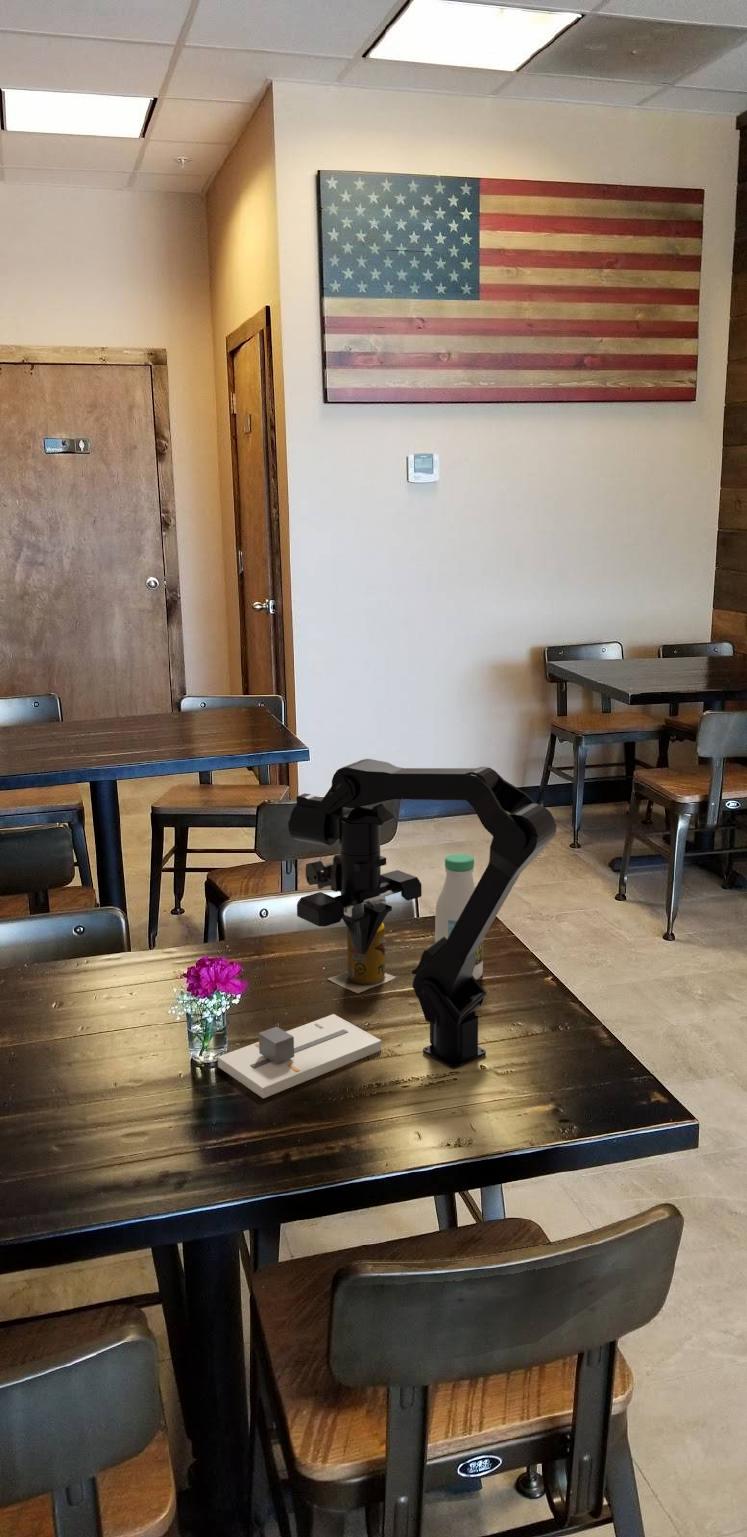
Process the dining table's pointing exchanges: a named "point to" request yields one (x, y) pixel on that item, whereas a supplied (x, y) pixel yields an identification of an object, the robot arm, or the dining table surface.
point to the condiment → (365, 965)
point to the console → (301, 1056)
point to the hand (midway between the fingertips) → (361, 953)
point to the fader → (276, 1045)
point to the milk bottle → (456, 900)
